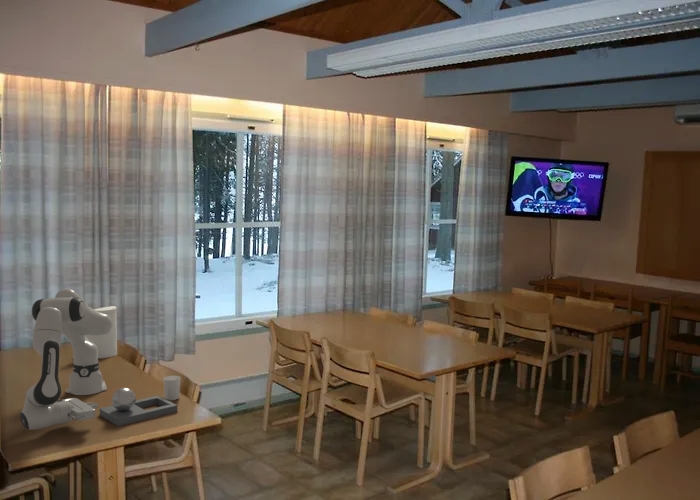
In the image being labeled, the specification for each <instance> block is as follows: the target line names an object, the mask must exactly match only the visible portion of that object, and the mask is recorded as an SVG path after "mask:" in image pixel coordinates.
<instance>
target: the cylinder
mask: <svg viewBox="0 0 700 500" xmlns="http://www.w3.org/2000/svg"><path fill="white" fill-rule="evenodd" d="M93 309H94V310H96V311H98V312H100V313H103V314H107V315H109V316H110V317H111V319H112V323H113V325H112V329H111V330H110V332H109V333H108V334H104V335H98V336H89V335H86V337H87V339H88V340H89V341H91V342H93V343H94V344H95V345H96V346H97V348H98V359H106V358H113V357H115V356H117V355H118V329H117V328H118V319H117V317H118V316H117V315H118V314H117V306H114V305H111V306H104V307H99V308H93Z"/></svg>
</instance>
